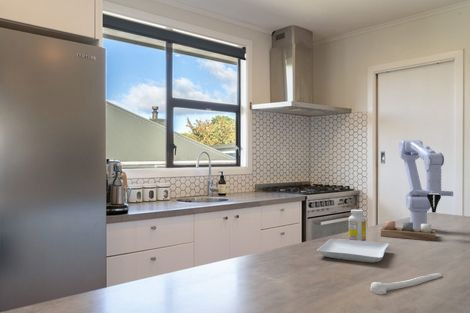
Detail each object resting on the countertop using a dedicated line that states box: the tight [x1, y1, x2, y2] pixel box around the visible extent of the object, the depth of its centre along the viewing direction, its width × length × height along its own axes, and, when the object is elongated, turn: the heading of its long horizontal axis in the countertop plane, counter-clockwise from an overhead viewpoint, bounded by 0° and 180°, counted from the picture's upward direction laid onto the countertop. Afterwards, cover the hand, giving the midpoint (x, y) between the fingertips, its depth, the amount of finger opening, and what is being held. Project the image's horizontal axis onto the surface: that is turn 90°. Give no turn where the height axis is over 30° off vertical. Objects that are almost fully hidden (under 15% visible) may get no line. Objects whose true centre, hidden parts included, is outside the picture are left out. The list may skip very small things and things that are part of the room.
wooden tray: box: [380, 225, 437, 242], centre depth 164 cm, size 11×21×2 cm, turn 64°
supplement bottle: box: [348, 209, 367, 241], centre depth 152 cm, size 7×7×13 cm
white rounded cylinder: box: [421, 223, 432, 233], centre depth 161 cm, size 4×4×4 cm
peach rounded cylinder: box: [385, 220, 396, 230], centre depth 167 cm, size 4×4×4 cm
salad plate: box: [316, 238, 390, 264], centre depth 133 cm, size 21×21×3 cm
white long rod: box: [370, 273, 443, 295], centre depth 103 cm, size 28×4×3 cm, turn 121°
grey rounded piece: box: [402, 221, 413, 231], centre depth 164 cm, size 4×4×4 cm
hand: (433, 212), depth 163 cm, fingers closed
